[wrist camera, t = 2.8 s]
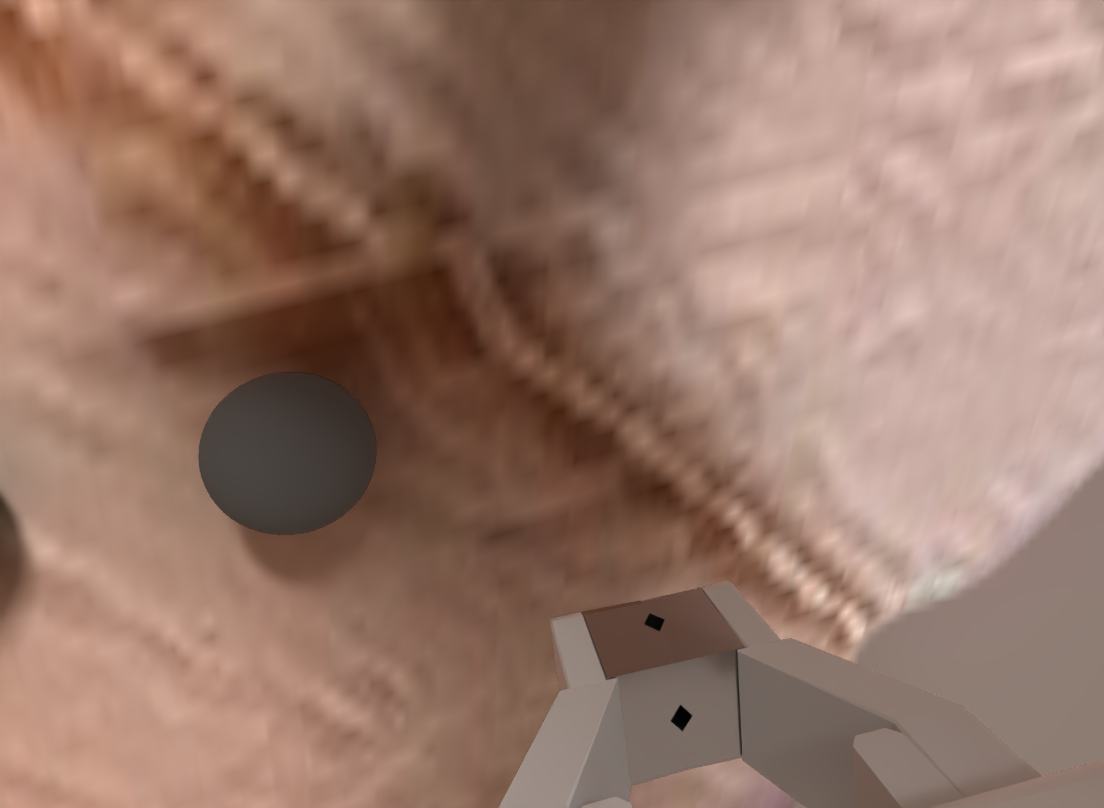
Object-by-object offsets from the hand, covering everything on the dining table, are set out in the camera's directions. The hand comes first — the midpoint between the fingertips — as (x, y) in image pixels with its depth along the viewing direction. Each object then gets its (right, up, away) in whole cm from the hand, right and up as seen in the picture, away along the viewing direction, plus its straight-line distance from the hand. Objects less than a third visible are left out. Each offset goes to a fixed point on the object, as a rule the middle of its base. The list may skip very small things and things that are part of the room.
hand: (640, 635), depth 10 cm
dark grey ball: (-11, +2, +12) cm, 17 cm away
